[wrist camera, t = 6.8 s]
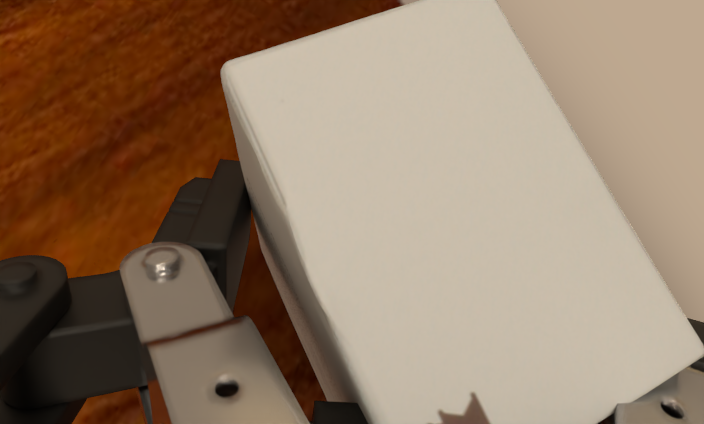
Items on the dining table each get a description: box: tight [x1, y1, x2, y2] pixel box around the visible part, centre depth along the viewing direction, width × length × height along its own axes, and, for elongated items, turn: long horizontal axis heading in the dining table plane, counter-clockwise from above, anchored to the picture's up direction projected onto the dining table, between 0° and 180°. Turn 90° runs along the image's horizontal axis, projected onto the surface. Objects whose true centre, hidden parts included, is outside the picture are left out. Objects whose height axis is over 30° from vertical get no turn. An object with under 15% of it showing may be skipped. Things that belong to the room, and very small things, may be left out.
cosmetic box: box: [221, 0, 704, 424], centre depth 12 cm, size 6×4×12 cm
